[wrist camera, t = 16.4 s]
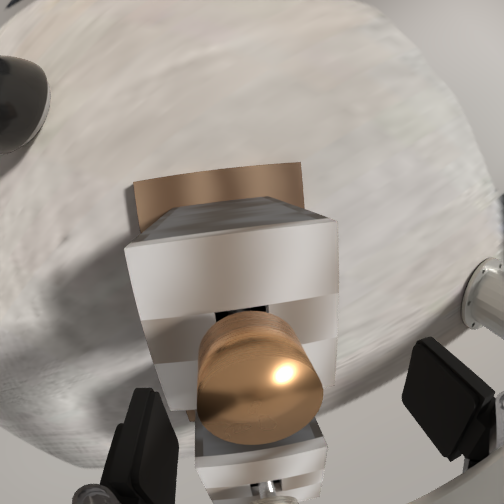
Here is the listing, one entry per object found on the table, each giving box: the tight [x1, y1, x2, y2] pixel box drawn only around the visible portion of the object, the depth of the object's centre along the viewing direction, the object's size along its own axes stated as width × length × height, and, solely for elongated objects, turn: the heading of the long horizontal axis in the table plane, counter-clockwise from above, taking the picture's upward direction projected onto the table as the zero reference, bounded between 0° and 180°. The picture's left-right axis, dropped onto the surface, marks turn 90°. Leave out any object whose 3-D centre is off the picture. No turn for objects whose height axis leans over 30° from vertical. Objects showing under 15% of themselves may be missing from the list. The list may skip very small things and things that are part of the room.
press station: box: [124, 162, 339, 504], centre depth 23 cm, size 16×30×18 cm, turn 6°
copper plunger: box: [197, 308, 323, 445], centre depth 18 cm, size 7×7×20 cm
